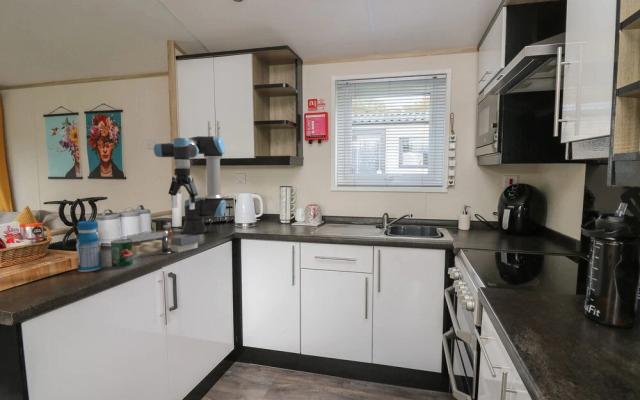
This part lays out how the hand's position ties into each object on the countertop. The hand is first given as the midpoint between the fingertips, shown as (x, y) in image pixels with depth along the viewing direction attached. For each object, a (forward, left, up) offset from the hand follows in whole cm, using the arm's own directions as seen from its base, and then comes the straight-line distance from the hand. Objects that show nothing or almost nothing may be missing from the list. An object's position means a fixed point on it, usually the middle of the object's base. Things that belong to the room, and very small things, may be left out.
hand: (183, 208), depth 170 cm
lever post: (+11, 0, -22) cm, 24 cm away
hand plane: (+9, -12, -22) cm, 27 cm away
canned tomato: (+34, +4, -22) cm, 41 cm away
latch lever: (+19, -1, -13) cm, 23 cm away
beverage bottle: (+44, -2, -22) cm, 49 cm away
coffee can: (-3, -23, -22) cm, 32 cm away
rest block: (0, 0, -22) cm, 22 cm away
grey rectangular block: (0, 0, -19) cm, 19 cm away
